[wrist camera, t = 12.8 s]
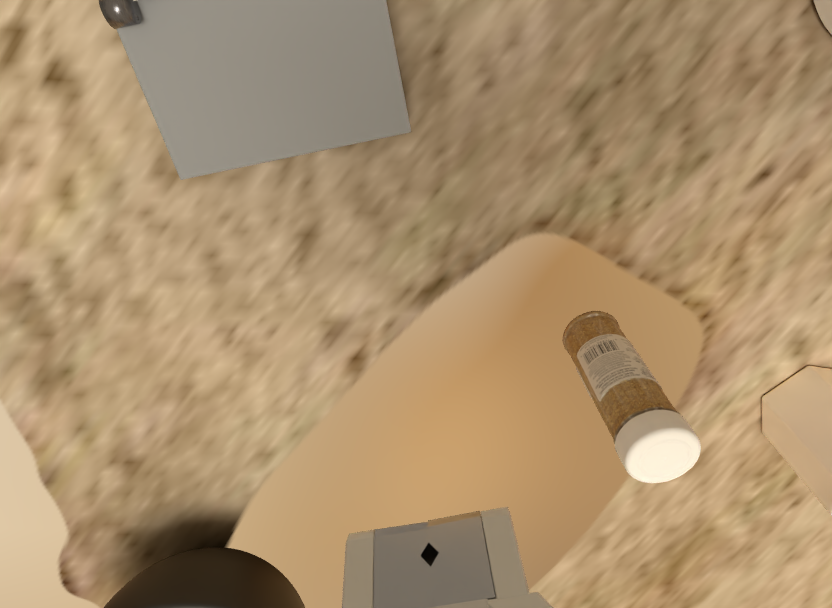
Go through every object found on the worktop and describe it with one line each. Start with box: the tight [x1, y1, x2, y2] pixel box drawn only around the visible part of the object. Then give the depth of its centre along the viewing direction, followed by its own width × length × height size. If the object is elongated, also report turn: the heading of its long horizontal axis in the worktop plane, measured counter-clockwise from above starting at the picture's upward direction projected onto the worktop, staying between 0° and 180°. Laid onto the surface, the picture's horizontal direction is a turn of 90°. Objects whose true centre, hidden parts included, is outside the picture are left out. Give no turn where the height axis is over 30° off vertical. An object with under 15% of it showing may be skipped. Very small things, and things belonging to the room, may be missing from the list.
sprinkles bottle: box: [563, 311, 701, 483], centre depth 38 cm, size 5×5×13 cm
